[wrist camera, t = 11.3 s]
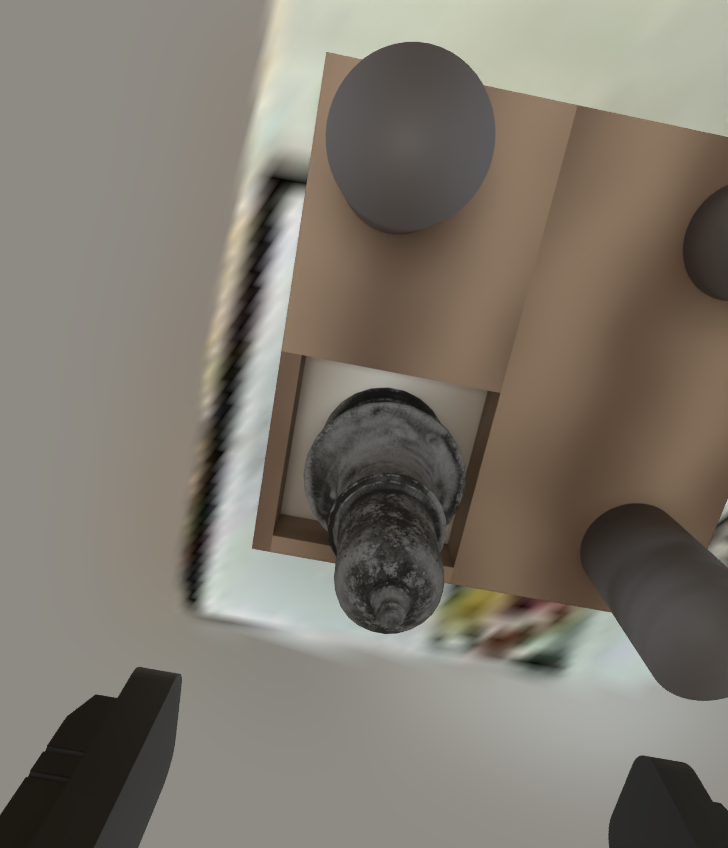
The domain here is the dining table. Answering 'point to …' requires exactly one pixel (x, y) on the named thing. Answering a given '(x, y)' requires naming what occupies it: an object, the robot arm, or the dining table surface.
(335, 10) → the dining table surface
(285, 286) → the dining table surface
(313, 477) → the grey chess piece
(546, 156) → the wooden peg stand
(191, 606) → the dining table surface
